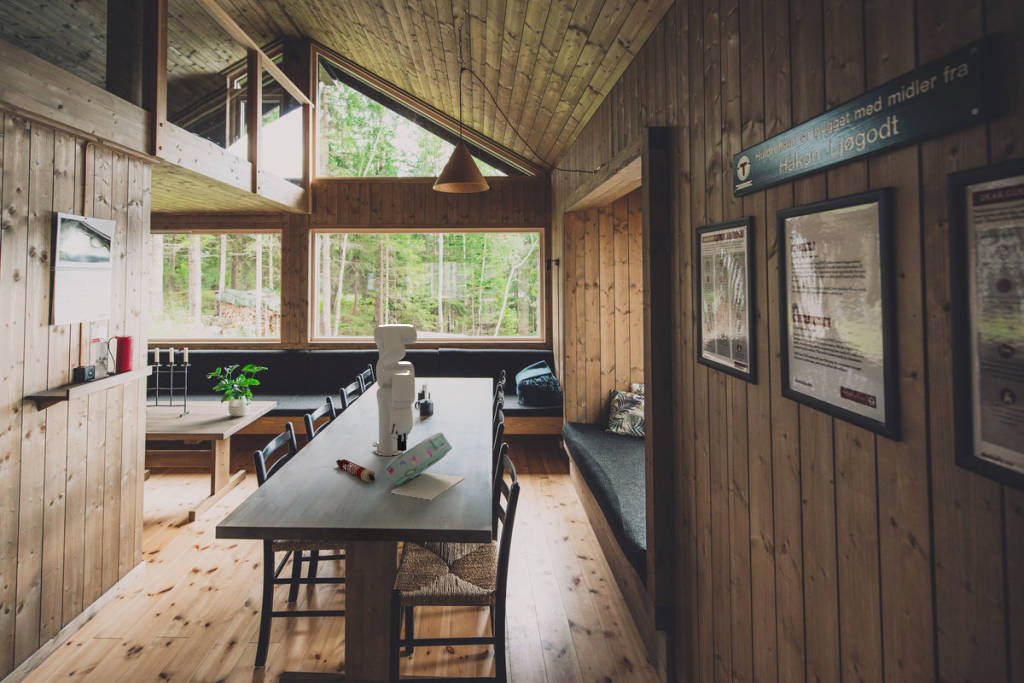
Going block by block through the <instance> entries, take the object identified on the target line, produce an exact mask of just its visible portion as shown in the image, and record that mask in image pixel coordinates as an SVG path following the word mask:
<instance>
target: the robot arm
mask: <svg viewBox="0 0 1024 683" xmlns="http://www.w3.org/2000/svg"><path fill="white" fill-rule="evenodd" d="M417 332H418V331H417V329H416V327H415V326H414V325H413V324H382V325H378V326H376V327H374V329H373V339H374V342H375V345H376V347H377V352H378V361H377V363H376V366H375V373H376V374H375V375H376V381H377V386H378V389H377V390H376V401H377V408H378V441H373V443H372V447H373V448H374V447H375V448H376V449H375V454H376V455H377V454H378V455H377V456H381V455H382V457H393V456H392V455H394V456H399V455H402V454H403V453H404V452H407V440H408V435H409V434H410V433H412V432H411V431H412V430H413V427H414V426H413V425H414V423H413V422H414V420H413V409H412V408H413V407H412V405H413V404H414V403H415V400H416V383H415V382H416V380H415V378H416V377H415V376H416V375H415V367H414V364H413V363H412V362H410V361H401V360H402V359H404V357H405V356H406V345H414V344H416V342H417V340H418V333H417Z"/></svg>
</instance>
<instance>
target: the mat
mask: <svg viewBox="0 0 1024 683" xmlns="http://www.w3.org/2000/svg"><path fill="white" fill-rule="evenodd" d="M464 478H465V477H463V476H455V475H450V474H443V473H437V472H430V471H426V472H425V471H424V472H423V473H422V474H421V473H420V474H418V475H417V476H415V477H413V478H412V479H413V480H411V481H410V482H408V483H406V484H402V485H399V486H397V487H396V488H394V489H392V490H391V491H392V492H391V491H389V492H391V493H390V494H392V493H393V492H394V493H395V494H394V495H397V494H401V495H400V496H403V495H406V496H405V497H409V496H412V497H411V498H414V497H417V499H420V498H423V499H422V500H426V499H429V500H428V501H432V499H433V498H434V499H436V498H437V497H439V496H440V495H442V494H444V493H445V492H446V491H448V490H449V489H452V488H453V487H454V486H456V485H457V484H459V483H460V482H462V481H464V480H465V479H464ZM461 480H462V481H461ZM458 482H459V483H458ZM455 484H456V485H455ZM453 485H454V486H453ZM452 486H453V487H452ZM444 491H445V492H444ZM441 493H442V494H441ZM438 495H439V496H438ZM436 496H437V497H436ZM435 497H436V498H435ZM434 499H433V500H434Z"/></svg>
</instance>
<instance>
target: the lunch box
mask: <svg viewBox="0 0 1024 683" xmlns="http://www.w3.org/2000/svg"><path fill="white" fill-rule="evenodd" d="M452 449H453V446H452V445H451V444H450V442H449V441H448V440H447V437H446V436H445V435H444V434H443V432H437V433H434V434H432V435H430V436H429V437H426V438H425V439H423V440H422V441H421V442H419V443H417V444H415V445H414V446H413V447H411V448H409V449H408V450H406V451H404V452H403V453H401V454H399V455H397V457H395V458H394V459H392V460H391V461H390V462H388V463H387V465H386V466H385V469H384V470H385V471H386V472H387V474H388V475H389V476H390V478H391V479H392V481H393V482H394V485H395V486H396V487H399V486H401V485H403V484H406V483H408V482H410V481H411V480H413V479H414V478H416V477H417V476H419V475H421V473H422V472H423V473H424V472H425V471H426V470H427V469H429V468H430V467H432V466H433V465H434V464H436V463H438V462H439V461H440V460H442V459H443V458H444V457H445V456H446V455H447V453H449V452H450V451H451V450H452Z"/></svg>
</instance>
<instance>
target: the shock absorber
mask: <svg viewBox="0 0 1024 683" xmlns="http://www.w3.org/2000/svg"><path fill="white" fill-rule="evenodd" d="M335 462H336V465H337V466H338V469H339V470H341V471H343V472H346V473H348V474H350V475H352V476H354V477H356V476H357V477H356V478H359V479H361V480H362V481H364V482H367V483H368V482H369V483H371V482H372V481H375V479H376V478H375V477H376V473H375V471H373V470H372V469H369V468H366V467H363V466H361V465H359V464H357V463H354V462H351V461H349V460H348V459H345V458H344V459H337V460H336V461H335ZM345 468H346V470H345ZM343 469H344V470H343ZM347 470H348V471H347Z"/></svg>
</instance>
